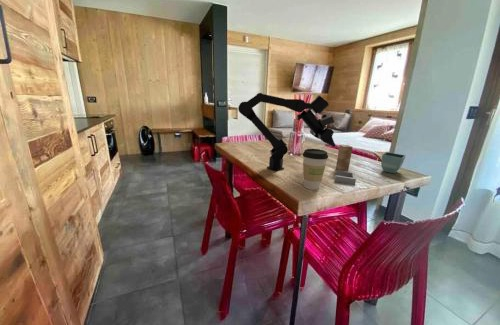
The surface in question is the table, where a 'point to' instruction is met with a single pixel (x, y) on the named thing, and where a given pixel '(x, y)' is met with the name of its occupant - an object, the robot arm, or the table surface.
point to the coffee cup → (313, 167)
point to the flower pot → (392, 162)
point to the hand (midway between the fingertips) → (331, 144)
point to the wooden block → (344, 157)
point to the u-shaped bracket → (345, 177)
